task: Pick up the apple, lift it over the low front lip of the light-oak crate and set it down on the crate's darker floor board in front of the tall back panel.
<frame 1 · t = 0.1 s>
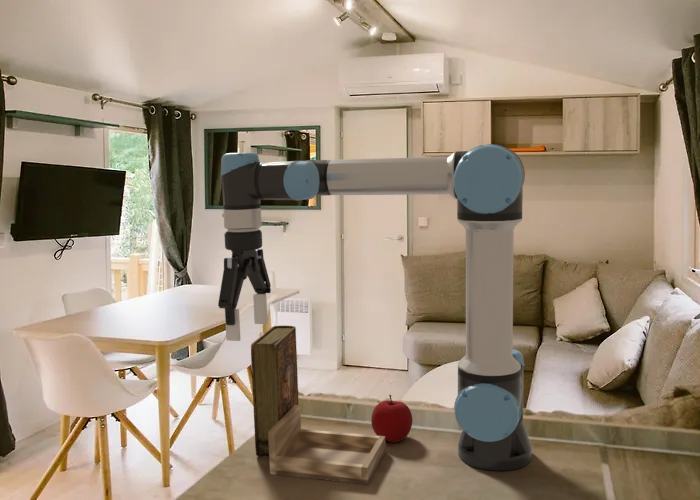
hand: (247, 331, 144), 28 cm above the kitchen counter, fingers open, 13 cm apart
book: (279, 444, 156), on the kitchen counter
apple: (392, 439, 157), on the kitchen counter
crate: (329, 462, 146), on the kitchen counter
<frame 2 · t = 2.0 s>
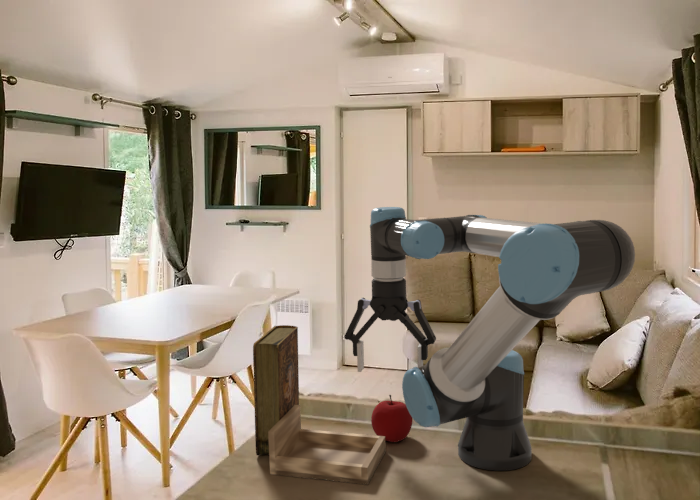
hand: (390, 372, 155), 15 cm above the kitchen counter, fingers open, 13 cm apart
nothing on the kitchen counter moved.
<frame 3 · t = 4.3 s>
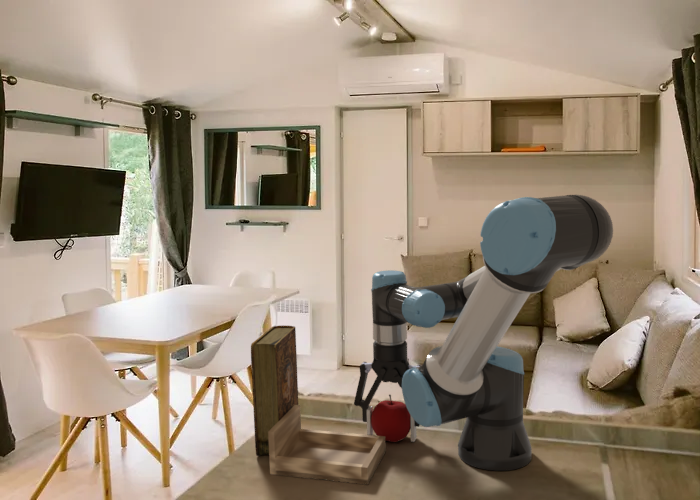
hand: (391, 437, 157), 0 cm above the kitchen counter, fingers open, 9 cm apart
apple: (391, 439, 157), on the kitchen counter, touching gripper
everything else where it was.
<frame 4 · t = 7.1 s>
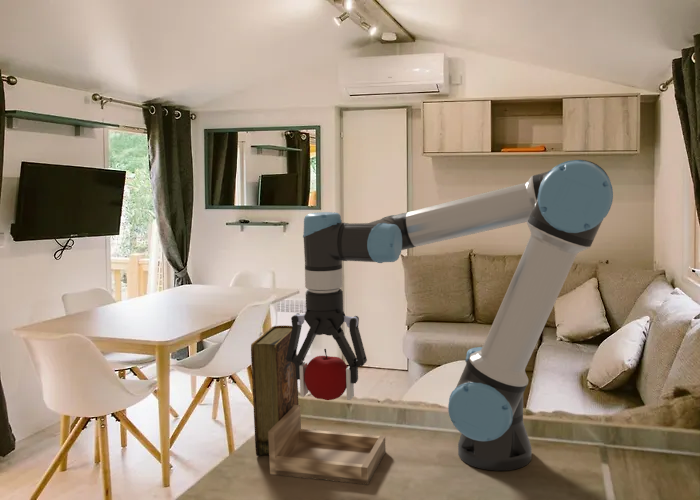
hand: (327, 396, 144), 14 cm above the kitchen counter, fingers closed on apple, 9 cm apart
apple: (327, 397, 144), point 14 cm above the kitchen counter, touching gripper
everything else where it was.
when the fingers open (3 cm above the kitchen counter, at t = 9.6 s): apple drops 2 cm, resting on crate.
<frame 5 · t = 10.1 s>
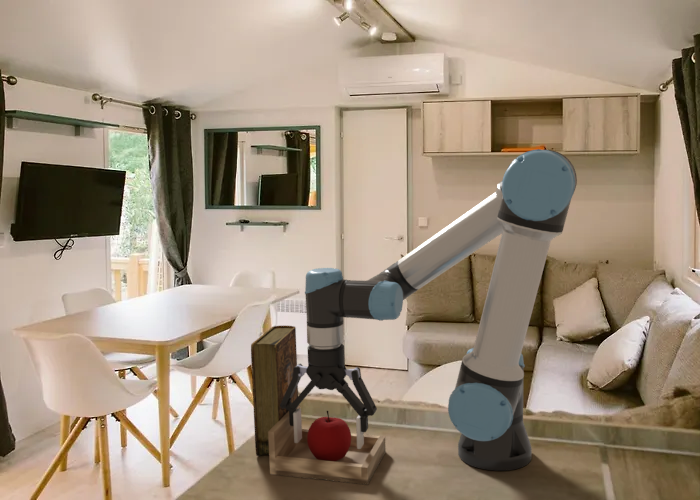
hand: (329, 443, 145), 4 cm above the kitchen counter, fingers open, 13 cm apart
apple: (329, 458, 146), point 1 cm above the kitchen counter, touching crate
everything else where it was.
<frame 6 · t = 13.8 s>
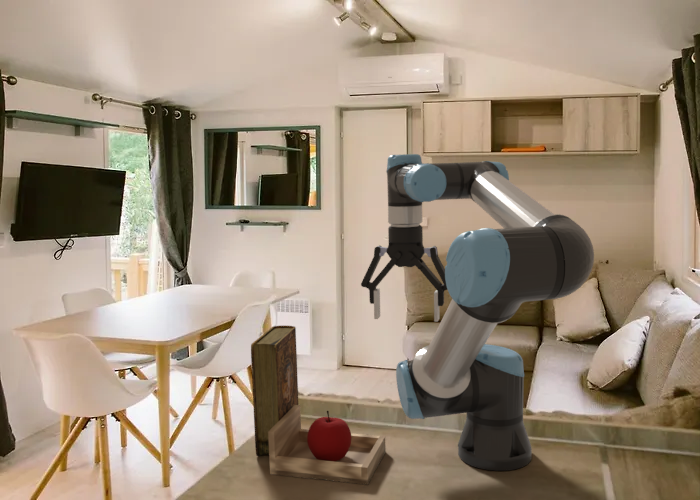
hand: (406, 319, 157), 27 cm above the kitchen counter, fingers open, 13 cm apart
nothing on the kitchen counter moved.
at the end: apple inside the target area on the crate (0.1 cm from its centre), point 0.8 cm above the crate's base; the gripper is holding nothing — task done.
